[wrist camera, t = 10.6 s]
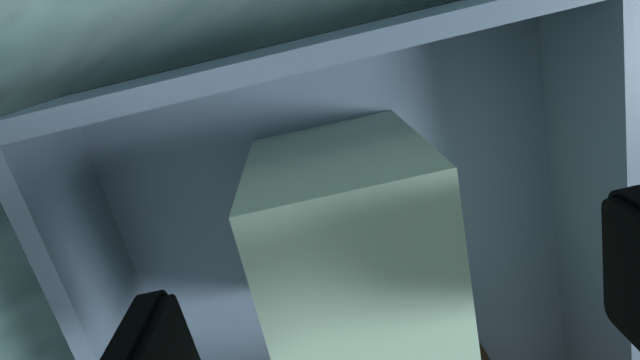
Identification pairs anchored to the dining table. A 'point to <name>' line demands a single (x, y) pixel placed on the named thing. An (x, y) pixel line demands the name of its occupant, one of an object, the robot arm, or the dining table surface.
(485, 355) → the walnut block
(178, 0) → the dining table surface
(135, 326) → the robot arm
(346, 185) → the pale green block
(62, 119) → the box
